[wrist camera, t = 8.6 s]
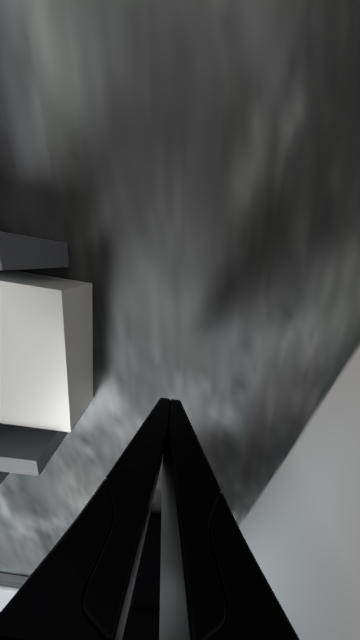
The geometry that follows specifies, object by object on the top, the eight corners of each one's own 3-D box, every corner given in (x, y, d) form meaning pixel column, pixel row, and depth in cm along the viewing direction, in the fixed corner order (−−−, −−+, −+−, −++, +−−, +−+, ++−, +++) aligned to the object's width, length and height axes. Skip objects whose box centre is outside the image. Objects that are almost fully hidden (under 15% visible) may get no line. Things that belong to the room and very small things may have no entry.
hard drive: (-23, 610, 23) (71, 624, 23) (-31, 584, 20) (75, 601, 21) (-9, 587, 24) (78, 601, 25) (-15, 561, 22) (83, 577, 22)
